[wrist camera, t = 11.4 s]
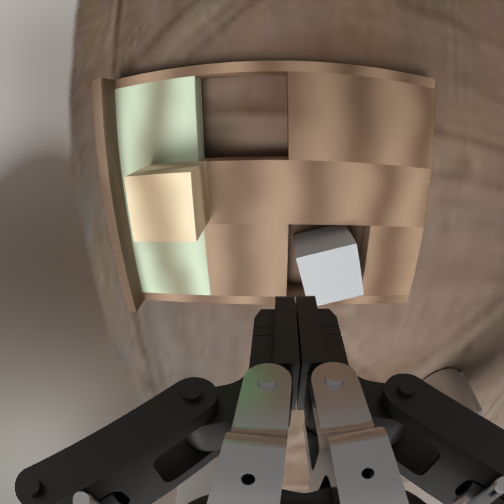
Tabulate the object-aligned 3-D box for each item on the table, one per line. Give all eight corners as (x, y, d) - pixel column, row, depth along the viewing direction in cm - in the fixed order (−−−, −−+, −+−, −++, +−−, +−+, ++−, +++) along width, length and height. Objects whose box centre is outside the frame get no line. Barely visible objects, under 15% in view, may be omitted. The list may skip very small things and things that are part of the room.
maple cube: (206, 161, 26) (190, 172, 21) (210, 218, 29) (196, 241, 24) (150, 164, 27) (124, 176, 22) (156, 219, 29) (133, 241, 24)
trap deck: (423, 80, 23) (447, 77, 19) (400, 290, 33) (414, 315, 29) (117, 83, 25) (92, 80, 21) (144, 287, 36) (128, 311, 31)
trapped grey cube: (344, 222, 30) (356, 243, 25) (352, 267, 33) (363, 294, 28) (293, 234, 31) (295, 258, 26) (304, 279, 34) (308, 307, 29)
